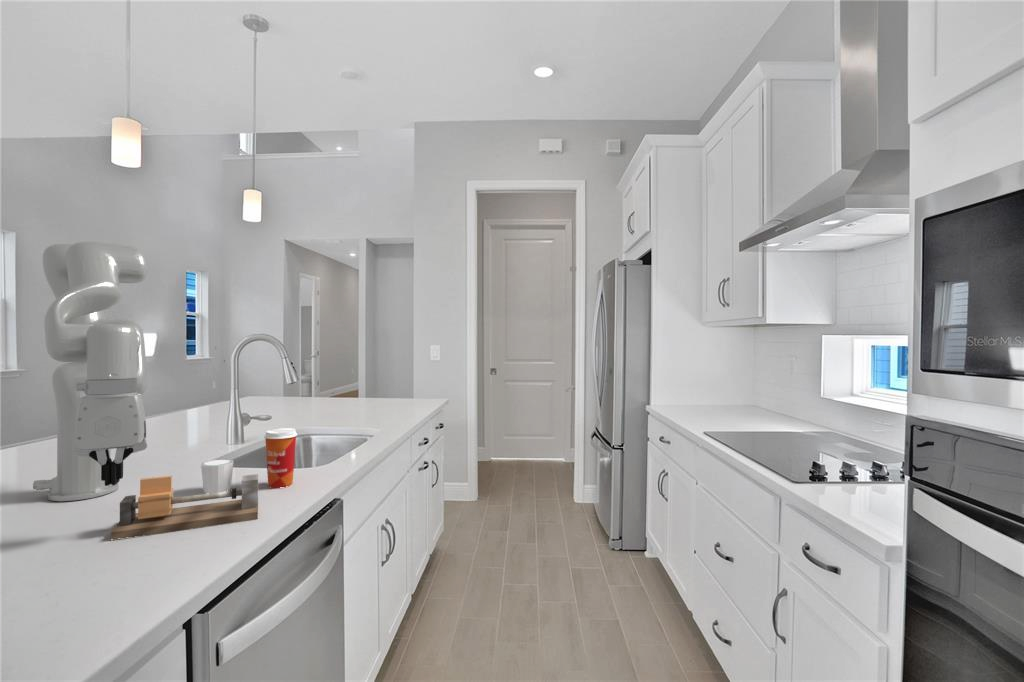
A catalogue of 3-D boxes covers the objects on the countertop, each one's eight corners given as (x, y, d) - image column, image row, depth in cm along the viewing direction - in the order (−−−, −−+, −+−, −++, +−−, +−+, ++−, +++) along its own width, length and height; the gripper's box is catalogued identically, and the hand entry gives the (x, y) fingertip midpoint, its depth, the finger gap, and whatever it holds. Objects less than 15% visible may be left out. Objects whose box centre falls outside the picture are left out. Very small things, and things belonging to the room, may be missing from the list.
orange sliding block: (138, 519, 92) (138, 482, 92) (143, 512, 96) (143, 476, 96) (169, 515, 95) (169, 478, 94) (173, 508, 98) (173, 473, 98)
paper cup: (256, 487, 120) (257, 431, 120) (281, 479, 127) (282, 426, 127) (279, 491, 117) (280, 434, 117) (304, 482, 124) (304, 429, 124)
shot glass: (218, 496, 113) (218, 466, 113) (193, 493, 114) (193, 464, 114) (240, 487, 120) (240, 459, 120) (216, 485, 121) (216, 457, 121)
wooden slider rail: (110, 540, 88) (110, 500, 88) (124, 521, 97) (124, 485, 97) (257, 518, 99) (257, 483, 99) (258, 503, 108) (258, 471, 108)
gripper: (53, 392, 85) (52, 494, 85) (156, 388, 92) (156, 483, 92) (68, 388, 92) (68, 484, 91) (163, 385, 99) (163, 473, 98)
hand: (112, 483), depth 92 cm, fingers closed
